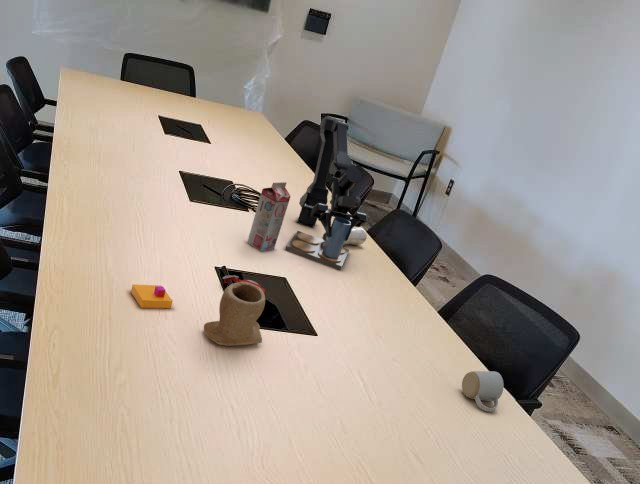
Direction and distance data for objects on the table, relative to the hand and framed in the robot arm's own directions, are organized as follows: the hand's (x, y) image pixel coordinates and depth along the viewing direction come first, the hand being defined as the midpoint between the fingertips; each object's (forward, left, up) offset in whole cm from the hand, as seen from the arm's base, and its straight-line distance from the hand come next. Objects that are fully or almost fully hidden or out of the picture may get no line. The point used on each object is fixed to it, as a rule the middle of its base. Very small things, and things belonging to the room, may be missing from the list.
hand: (337, 238), depth 226 cm
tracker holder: (-18, -48, -9) cm, 52 cm away
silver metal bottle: (+7, +31, -5) cm, 32 cm away
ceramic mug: (+52, -60, -9) cm, 80 cm away
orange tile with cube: (-36, -74, -9) cm, 83 cm away
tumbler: (-1, +1, -7) cm, 7 cm away
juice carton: (-23, -9, -9) cm, 26 cm away
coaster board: (-5, +6, -9) cm, 12 cm away
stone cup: (-12, -78, -9) cm, 79 cm away
